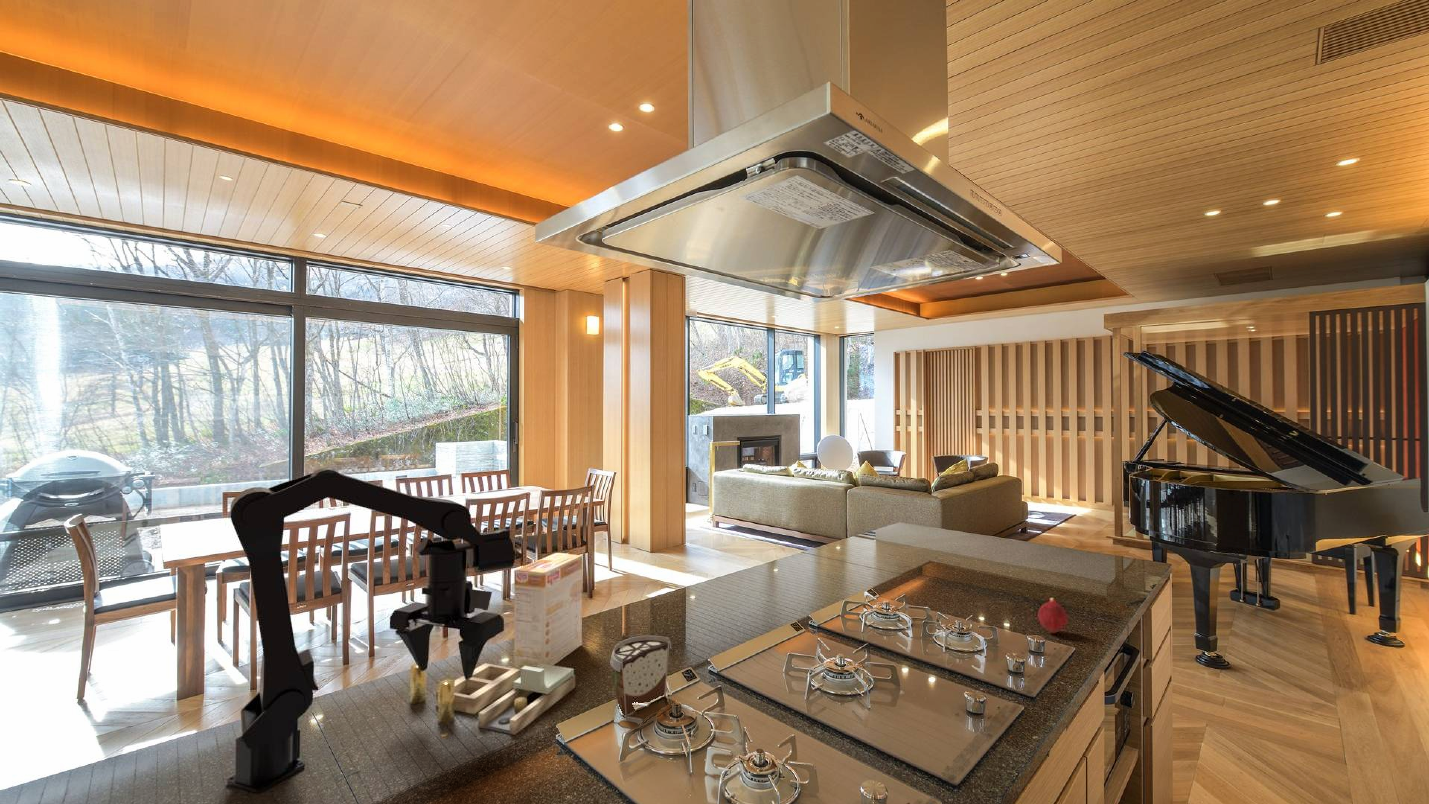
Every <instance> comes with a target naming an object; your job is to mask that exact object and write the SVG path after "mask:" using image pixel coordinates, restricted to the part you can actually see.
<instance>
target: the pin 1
mask: <svg viewBox="0 0 1429 804" xmlns="http://www.w3.org/2000/svg"><path fill="white" fill-rule="evenodd" d="M426 686H427V669H426V670H424V671H420V669H419V667H418V665H417V664H416V663H414V664H412V665H411V666H410V685H409V687H410V688H409V691H410V694H409V702H410V704H413V705H417V704H422V703H423V702H425V701H426V694H427V693H426V692H427V691H426V689H427V687H426Z"/></svg>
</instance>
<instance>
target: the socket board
mask: <svg viewBox="0 0 1429 804" xmlns="http://www.w3.org/2000/svg"><path fill="white" fill-rule="evenodd" d="M520 677H521V670H520V669H515V668H514V667H507V666H503V665H498V664H492V663H486V662H485V663H483V664H481V665H480V666H478V667H475V670H474V672H473V675H472V677H471V678H470V679H468V680H466V679H465V677H464V675H462V676H460V677H459V678H457V679H455V680H454V681H455V685H454V711H458V712H463V713H468V714H470V715H471V714H472V715H475V714H476V713H479V712H480V711H482V710H483V709H485V707H488V706H489V704H490V705H491V704H492V703H494V702H495V701H497V700H498V699H500V698H501V697H503V696H504V695H506V694H507V693H509V692H510V691H511V690H513V689H514V688H513V682H514V681H515V680H517V679H518V678H520ZM435 692H436V693H435V695H436V697H435V698H436V699H435V705H436V706H435V707H438V690H436V691H435Z"/></svg>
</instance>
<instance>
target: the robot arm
mask: <svg viewBox="0 0 1429 804" xmlns="http://www.w3.org/2000/svg"><path fill="white" fill-rule="evenodd" d="M327 498H329V499H333V500H337V501H340V502H344V503H348V504H350V505H353V506H358V507H361V508H364V509H368V510H371V511H375V512H379V513H382V514H386V515H389V516H392V517H396V518H398V519H399V518H400V519H403V520H406V521H408V522H410V523H412V524H414V525H416V526H418V527H421V528H422V529H425V530H426V531H428V532H430V533H432V534H434V535H436V536H438V537H440V538H443V539H444V540H438V541H432V539H430V538H429V537H427V536H426V537H424V539H423V540H422V542H420V543H419V544H418V545H417V546H416V547H415V548H414V550H413V551H414V552H415V553H416V554H418V555H419V556H422V557H424V556H428V557H427V559H428V560H427V561H428V564H427V568H428V569H427V570H428V571H427V585H424V586H422V587H421V594H422V595H426V596H427V603H424V602H417V601H415V602H413V603H409V604H408V605H404V606H402V607H399V608H397V609H394V611H393V612H392V614H391V615H390V617H389V629H391V630H395V635H397V636H399V637H400V639H401V641H402V642H403V643H404V644H405V647H406V648H407V650H408V651H409V653H410V655H411V656H412V659H413V660H414V662H415V664H417V665H418V667H419V669H420V671H424V670H426V671H427V669H428V666H429V659H430V657H429V656H430V640H431V637H430V635H431V633H432V630H433V629H434V627H442V628H448V629H455V630H459V636H460V638H461V639H462V640H460V641H458V643H457V644H458V648H459V649H458V650H459V655H460V656H459V657H460V661H461V667H462V673H463V676H464V677H465V679H466V680H468V679H470V678H471V677H472V675H473V672H474V670H475V669H476V668H477V667H476V666H477V664H478V661H479V658H480V656H481V653H482V652H483V649H484V647H485V645H486V643H487V642H488V641H489V640H491V639H493V638H495V637H496V636H497V635H499V634H501V633H502V632H504V631H505V619H504V617H503V616H502V614H500V613H495V612H488V610H489V607H490V603H491V598H492V594H493V591H487V590H480V589H474V588H473V587H474V586H473V585H474V584H473V583H472V581H471V580H467V567H468V568H469V569H473V570H474V572H475V573H476V574H483V573H488V572H496V571H500V570H501V571H502V570H508V569H512V568H513V567H514V564H515V560H516V550H515V549H514V543H513V540H512V538H511V530H509V529H506V528H501V529H496V530H494V531H493V530H492V531H487V532H480V531H479V530H478V529H477V528H476V527H475V526H474V524H473V523H472V514H471V513H470V509H469V508H467V507H466V506H465V505H463V504H460V503H459V502H455V501H453V500H450V499H444V498H437V497H431V496H430V497H427V496H418V495H411V494H407V493H404V492H401V491H397V490H395V489H391V488H388V487H385V486H381V485H379V484H374V483H372V482H369V481H365V480H362V479H359V478H356V477H352V476H349V475H346V474H342V473H339V472H338V471H336V470H335V469H332V468H328V467H323V468H319V469H316V470H314V471H313V472H311V473H308V474H306V475H302V476H299V477H297V478H293V479H291V480H287V481H285V482H281V483H279V484H275V485H274V486H271V487H262V486H259V487H256V486H255V487H251V488H247V489H244V490H242V491H241V492H239V493H238V494H237V495H236V496H235V497H234V498H233V500H232V501H231V502H230V503H231V504H230V508H229V509H230V510H229V513H230V521H231V524H232V526H233V528H234V530H235V533H236V536H237V538H238V541H239V543H240V545H241V547H242V549H243V552H244V555H245V557H246V558H247V559H246V560H247V561H248V565H249V572H250V577H251V584H252V590H253V597H254V604H255V609H256V616H257V617H256V618H257V623H258V627H259V635H260V640H261V647H262V657H261V666H260V667H261V668H260V680H259V690H258V692H257V693H256V694H255V696H253V697H252V699H250V700H249V701H248V702H247V703H246V704H245V705H244V707H242V708H241V709H240V723H241V724H240V727H241V736H239V737H237V738H235V759H234V760H235V763H234V764H235V765H234V768H235V769H234V775H232V776H230V777H228V778H227V779H226V784H227V785H230V786H233V787H237V788H239V789H244V790H246V791H248V792H253V793H256V794H259V793H262V792H263V791H265V790H267V789H269V788H271V787H273V786H274V785H276V784H278V783H279V782H282V781H283V780H284V779H287V778H288V777H290V776H292V775H293V774H295V773H296V772H298V771H300V770H302V769H304V768H305V767H306V761H302V760H299V759H300V757H301V734H302V733H301V729H300V728H299V721H298V720H299V718H301V717H302V716H303V715H304V714H305V713H306V712H307V711H308V710H309V708H310V707H311V706H312V704H313V701H314V692H313V691H319V685H318V683H317V679H316V677H315V672H314V671H315V662H314V658H313V656H312V654H311V651H310V649H309V648H308V649H305V650H304V651H303V650H302V651H301V652H299V651H298V648H297V646H296V642H295V635H294V629H293V623H292V615H291V610H290V605H289V598H288V591H287V584H286V578H285V573H284V565H283V559H282V547H283V540H284V539H283V537H284V530H285V529H284V528H285V527H284V526H285V518H287V517H289V516H291V515H294V514H296V513H299V512H300V511H302V510H304V509H306V508H308V507H310V506H312V505H314V504H316V503H318V502H320V501H322V500H325V499H327ZM457 539H461V540H463V541H465V542H461V543H454V540H457ZM476 609H479V610H483V611H482V612H480V613H477V614H476V615H475V614H474V616H471V617H468V616H467V617H466V615H468V614H469V615H470V614H473V613H475V612H476ZM485 611H487V612H485Z"/></svg>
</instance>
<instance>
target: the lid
mask: <svg viewBox="0 0 1429 804" xmlns="http://www.w3.org/2000/svg"><path fill="white" fill-rule="evenodd" d="M572 675H575V668H572V667H565V666H560V665H559V666H558V665H548V664H542V663H541V664H540V665H538V666H537V667H529V666H524V667H522V668H521V670H520V678H518V679H517V680H515V681H514V682H513V688H512V689H515V688H518V689H523V690H528V691H534V692H535V693H540V694H548V693H550V692H551V691H552V690H554V689H555V688H556V687H558V686H559V685H560V684H562V683H563V682H564V681H566V680H567V679H568V678H570V677H571V676H572ZM534 692H533V693H534Z"/></svg>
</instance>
